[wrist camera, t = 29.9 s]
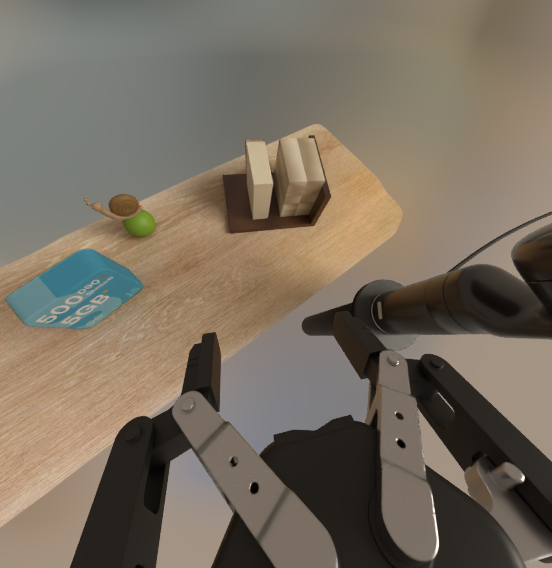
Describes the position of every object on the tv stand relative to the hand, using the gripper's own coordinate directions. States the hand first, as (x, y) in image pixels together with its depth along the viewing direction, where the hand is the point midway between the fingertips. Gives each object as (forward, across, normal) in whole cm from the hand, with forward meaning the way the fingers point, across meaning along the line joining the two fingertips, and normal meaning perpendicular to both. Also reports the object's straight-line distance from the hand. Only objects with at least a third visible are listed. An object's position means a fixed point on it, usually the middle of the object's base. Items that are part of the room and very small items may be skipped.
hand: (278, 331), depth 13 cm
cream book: (+41, -4, -2) cm, 41 cm away
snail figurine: (+38, +21, +2) cm, 44 cm away
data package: (+28, +27, +12) cm, 41 cm away
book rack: (+42, -7, -2) cm, 42 cm away
